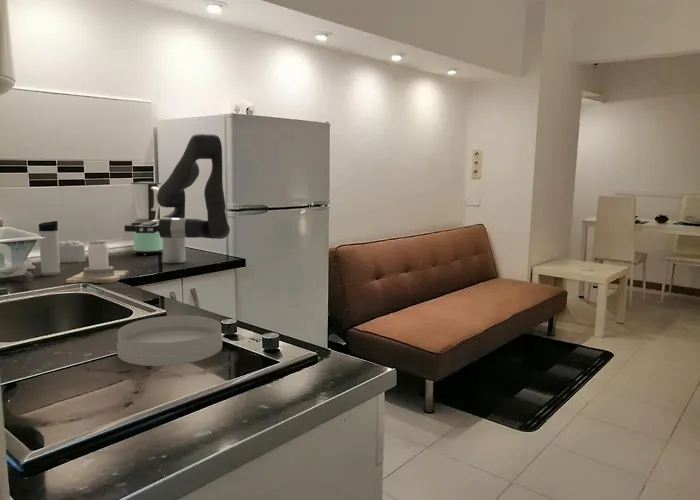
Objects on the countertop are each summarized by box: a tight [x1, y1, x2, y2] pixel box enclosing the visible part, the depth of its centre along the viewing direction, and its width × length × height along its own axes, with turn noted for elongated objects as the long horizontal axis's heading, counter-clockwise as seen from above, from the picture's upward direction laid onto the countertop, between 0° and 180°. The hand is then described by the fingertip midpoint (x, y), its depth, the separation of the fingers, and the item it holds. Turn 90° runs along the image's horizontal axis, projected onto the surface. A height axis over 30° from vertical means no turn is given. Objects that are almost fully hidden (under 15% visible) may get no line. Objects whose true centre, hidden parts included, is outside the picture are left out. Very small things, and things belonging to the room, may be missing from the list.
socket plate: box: [65, 265, 130, 284], centre depth 198 cm, size 18×16×4 cm
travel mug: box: [38, 220, 61, 277], centre depth 203 cm, size 6×7×20 cm
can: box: [87, 241, 110, 270], centre depth 197 cm, size 6×6×12 cm
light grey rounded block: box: [59, 239, 86, 264], centre depth 236 cm, size 10×13×9 cm
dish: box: [116, 314, 223, 367], centre depth 119 cm, size 22×22×5 cm
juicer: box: [130, 180, 163, 255], centre depth 258 cm, size 19×13×35 cm
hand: (128, 226), depth 197 cm, fingers open, 8 cm apart
